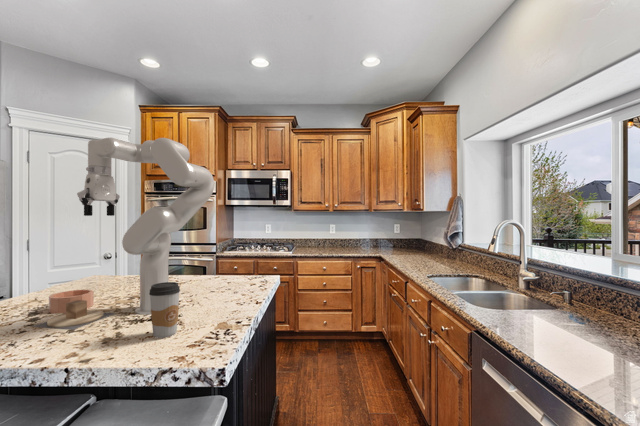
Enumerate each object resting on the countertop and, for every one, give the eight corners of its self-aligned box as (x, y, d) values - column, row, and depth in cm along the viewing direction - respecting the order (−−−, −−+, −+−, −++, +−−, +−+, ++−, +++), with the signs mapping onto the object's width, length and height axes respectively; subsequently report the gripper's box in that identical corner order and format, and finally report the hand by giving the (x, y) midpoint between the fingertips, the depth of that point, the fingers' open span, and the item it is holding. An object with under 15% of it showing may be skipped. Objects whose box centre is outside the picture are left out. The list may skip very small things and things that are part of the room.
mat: (116, 315, 111) (116, 313, 111) (73, 331, 95) (73, 329, 95) (79, 312, 114) (79, 311, 114) (31, 328, 98) (31, 326, 98)
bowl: (101, 305, 123) (101, 290, 123) (69, 315, 111) (69, 298, 111) (74, 303, 126) (74, 288, 126) (39, 313, 113) (39, 297, 113)
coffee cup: (159, 342, 87) (159, 289, 87) (143, 336, 91) (143, 285, 91) (186, 332, 94) (185, 283, 94) (170, 327, 98) (169, 280, 98)
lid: (113, 313, 111) (113, 297, 111) (73, 328, 96) (73, 309, 96) (79, 311, 113) (79, 295, 113) (34, 326, 99) (34, 307, 99)
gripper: (86, 168, 111) (86, 215, 111) (126, 174, 128) (126, 215, 128) (70, 169, 113) (69, 215, 112) (111, 175, 129) (110, 215, 129)
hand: (99, 215), depth 120 cm, fingers open, 9 cm apart
